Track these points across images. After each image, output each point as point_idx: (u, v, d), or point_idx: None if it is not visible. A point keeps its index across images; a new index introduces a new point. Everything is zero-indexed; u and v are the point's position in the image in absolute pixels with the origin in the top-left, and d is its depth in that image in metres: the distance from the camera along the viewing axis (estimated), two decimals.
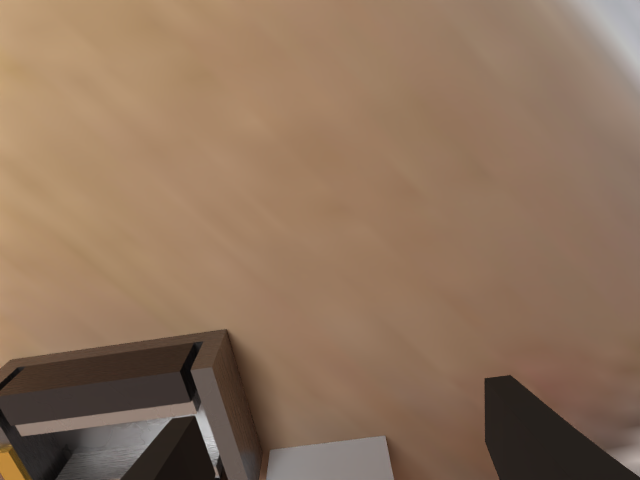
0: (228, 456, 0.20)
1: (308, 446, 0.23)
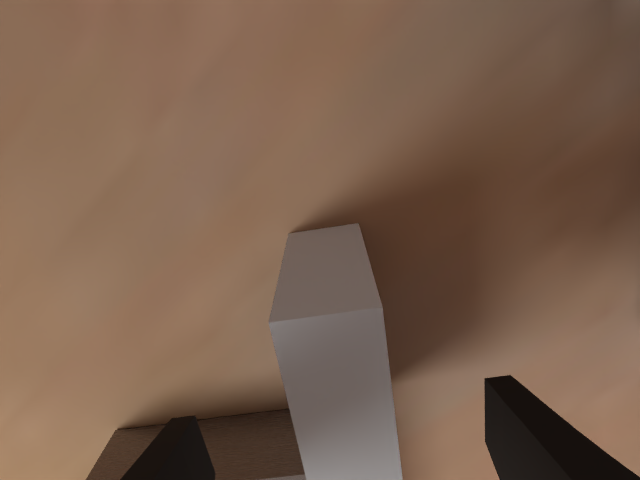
0: None
1: None
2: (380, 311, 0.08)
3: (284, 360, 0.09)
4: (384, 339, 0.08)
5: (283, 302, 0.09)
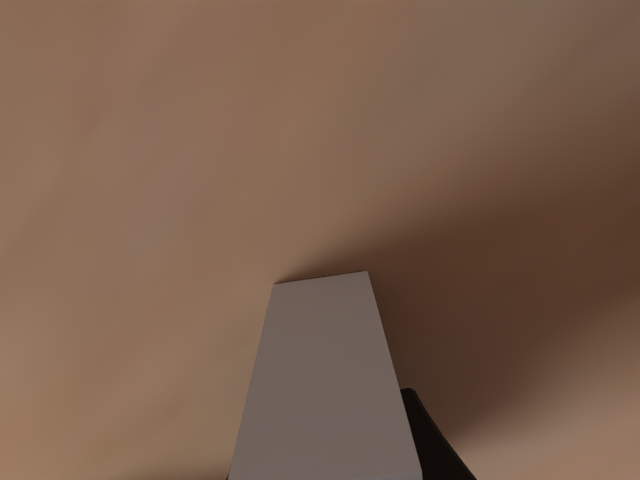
0: None
1: None
2: (417, 478, 0.05)
3: None
4: None
5: (253, 439, 0.05)
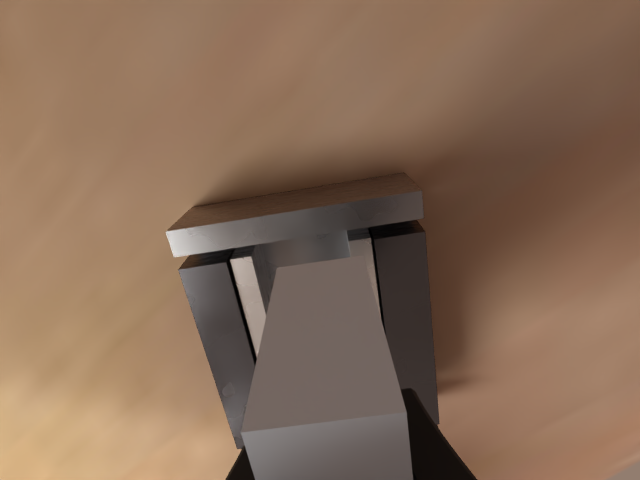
0: (322, 223, 0.14)
1: None
2: (403, 417, 0.06)
3: (264, 479, 0.06)
4: (407, 452, 0.06)
5: (264, 391, 0.06)
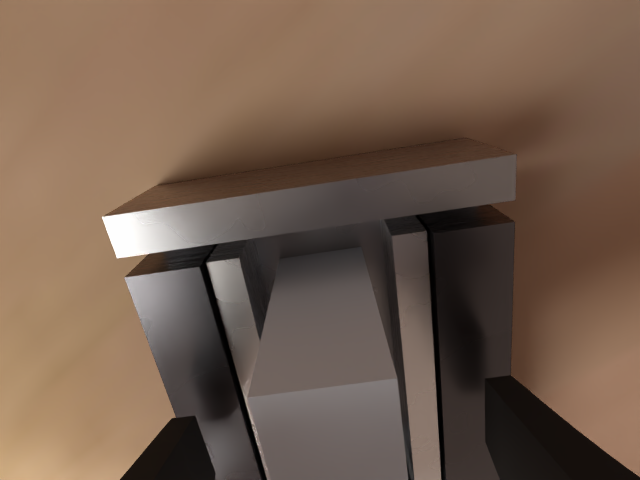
0: (352, 205, 0.09)
1: None
2: (394, 383, 0.06)
3: (269, 442, 0.07)
4: (398, 416, 0.06)
5: (268, 364, 0.07)
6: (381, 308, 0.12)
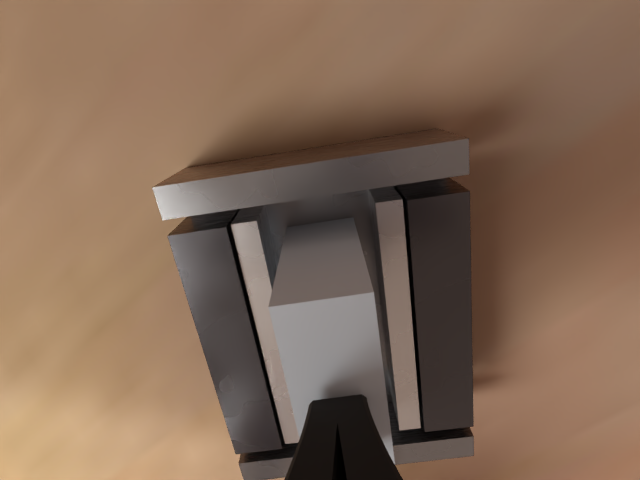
0: (344, 178, 0.11)
1: None
2: (371, 296, 0.09)
3: (283, 342, 0.09)
4: (375, 322, 0.09)
5: (282, 289, 0.10)
6: (370, 269, 0.15)
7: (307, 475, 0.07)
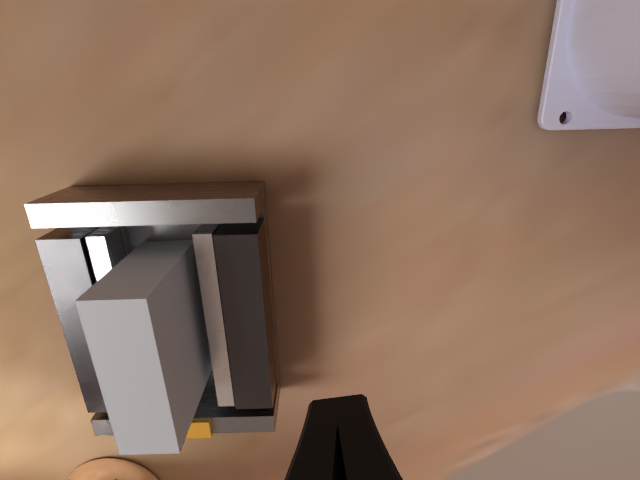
0: (166, 214, 0.15)
1: None
2: (145, 301, 0.13)
3: (86, 326, 0.13)
4: (150, 319, 0.13)
5: (94, 289, 0.14)
6: None
7: (307, 475, 0.07)
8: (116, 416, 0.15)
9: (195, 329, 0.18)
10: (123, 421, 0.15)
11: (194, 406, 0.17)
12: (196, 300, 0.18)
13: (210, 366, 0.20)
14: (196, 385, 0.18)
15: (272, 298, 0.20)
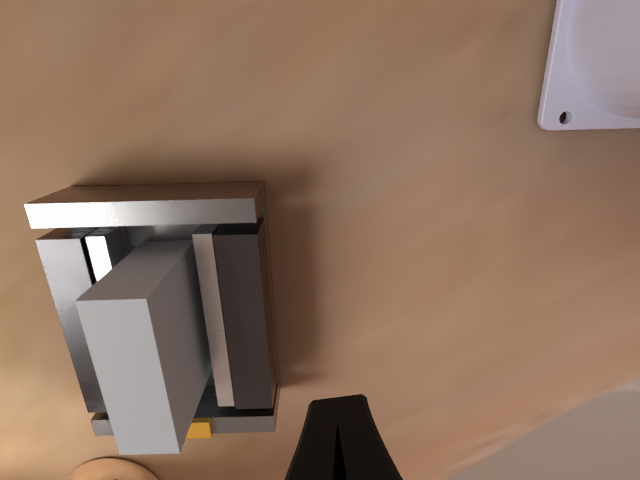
0: (166, 214, 0.15)
1: None
2: (145, 301, 0.13)
3: (86, 326, 0.13)
4: (150, 319, 0.13)
5: (94, 289, 0.14)
6: None
7: (307, 475, 0.07)
8: (116, 416, 0.15)
9: (195, 329, 0.18)
10: (123, 421, 0.15)
11: (194, 406, 0.17)
12: (196, 300, 0.18)
13: (210, 366, 0.20)
14: (196, 385, 0.18)
15: (272, 298, 0.20)
